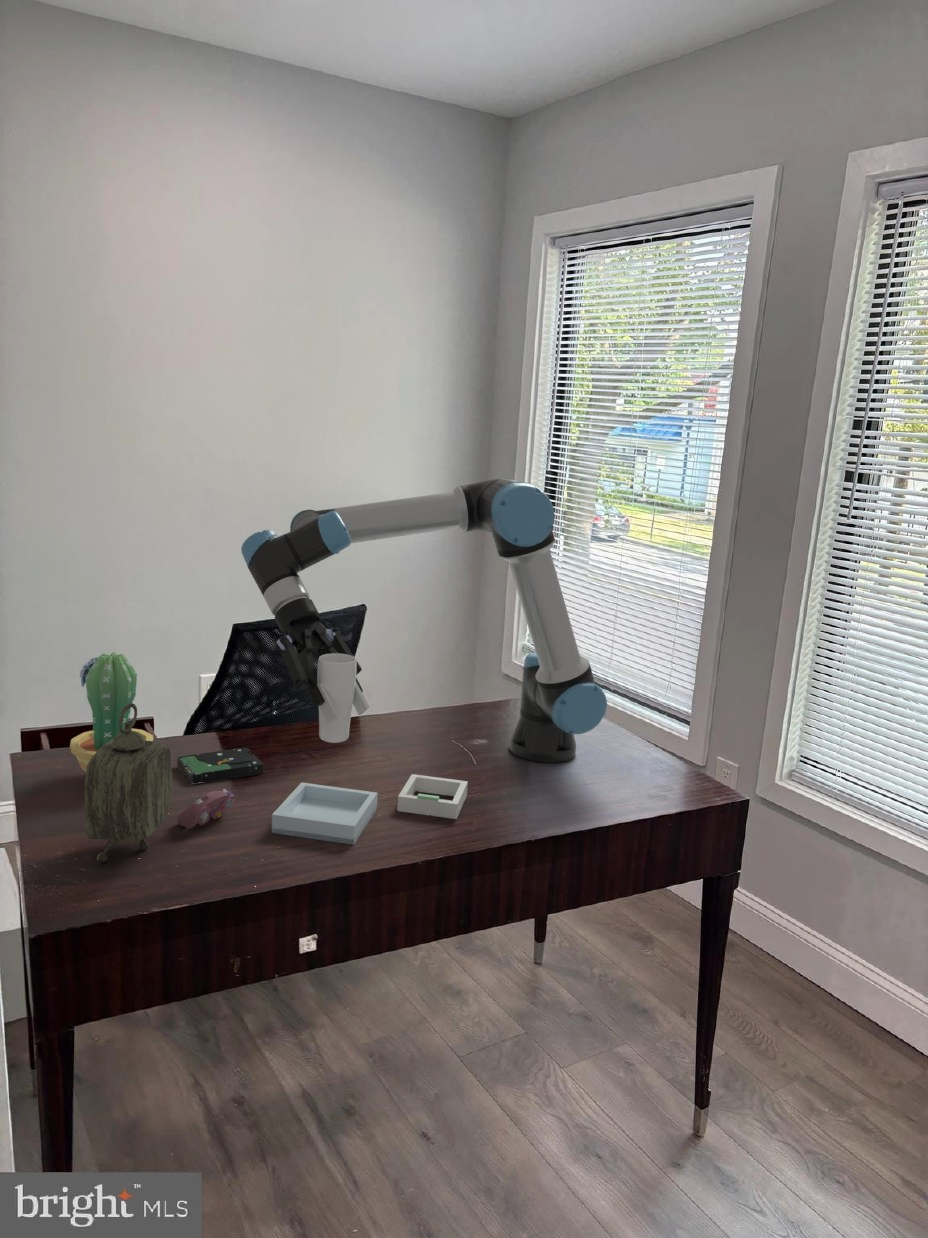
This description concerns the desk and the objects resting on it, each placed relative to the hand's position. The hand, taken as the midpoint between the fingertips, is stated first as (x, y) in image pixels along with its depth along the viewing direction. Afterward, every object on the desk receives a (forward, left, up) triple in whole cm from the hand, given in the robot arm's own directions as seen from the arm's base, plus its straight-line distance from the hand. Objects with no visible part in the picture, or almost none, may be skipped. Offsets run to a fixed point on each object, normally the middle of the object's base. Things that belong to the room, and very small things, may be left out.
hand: (348, 715), depth 162 cm
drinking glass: (+3, -2, -6) cm, 7 cm away
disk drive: (+31, -17, -22) cm, 42 cm away
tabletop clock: (+31, +19, -21) cm, 42 cm away
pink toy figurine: (+24, +5, -21) cm, 32 cm away
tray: (+4, -1, -21) cm, 21 cm away
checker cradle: (-13, -15, -21) cm, 29 cm away
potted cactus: (+49, -6, -21) cm, 54 cm away
